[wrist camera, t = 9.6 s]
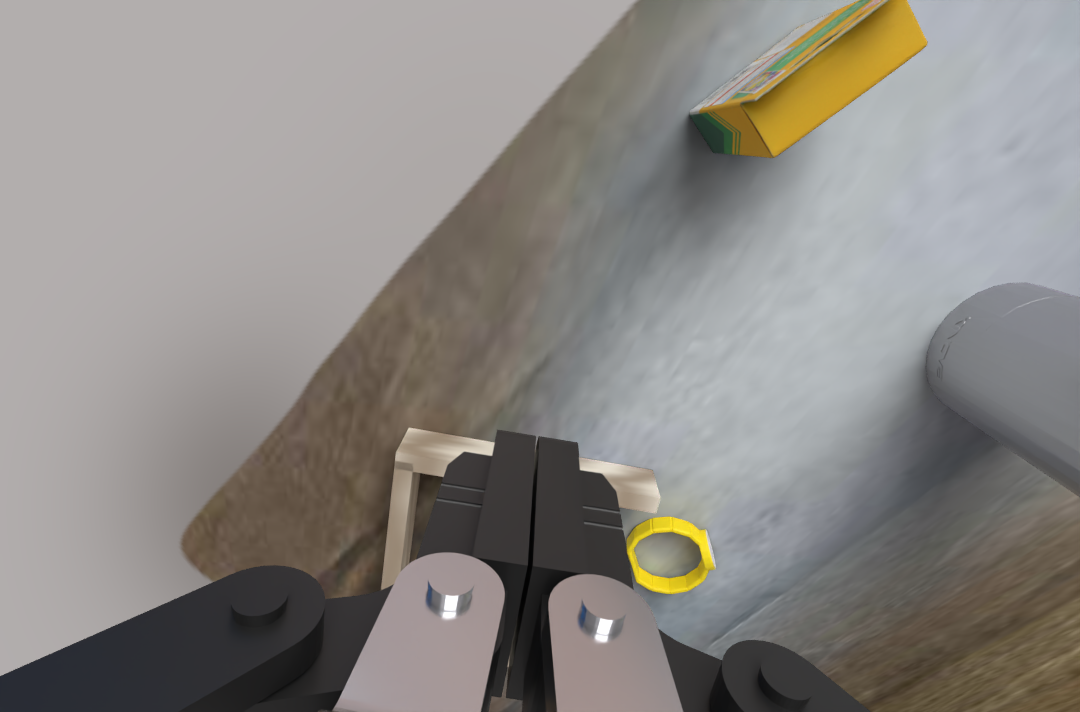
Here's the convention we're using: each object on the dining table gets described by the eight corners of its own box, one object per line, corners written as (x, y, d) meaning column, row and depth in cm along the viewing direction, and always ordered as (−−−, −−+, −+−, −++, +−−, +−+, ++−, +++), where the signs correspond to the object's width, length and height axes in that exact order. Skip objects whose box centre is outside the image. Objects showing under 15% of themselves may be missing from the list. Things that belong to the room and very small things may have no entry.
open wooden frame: (652, 470, 42) (660, 498, 38) (602, 644, 47) (606, 682, 44) (408, 427, 41) (396, 452, 38) (387, 609, 47) (375, 645, 43)
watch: (617, 543, 41) (701, 526, 40) (618, 518, 44) (697, 501, 42) (643, 607, 43) (724, 593, 42) (642, 579, 46) (719, 565, 44)
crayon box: (714, 156, 34) (787, 163, 23) (686, 113, 34) (748, 98, 23) (827, 72, 33) (962, 37, 22) (800, 24, 32) (926, -37, 21)
